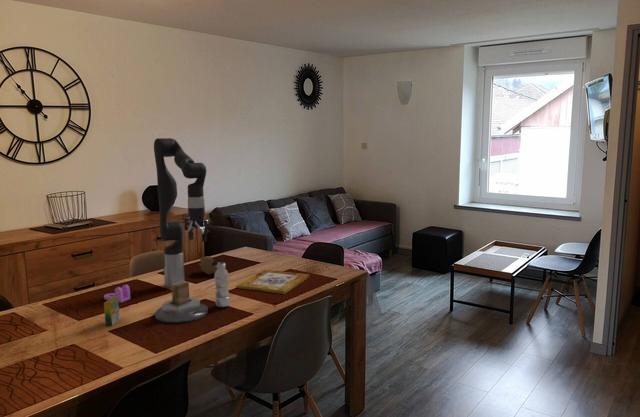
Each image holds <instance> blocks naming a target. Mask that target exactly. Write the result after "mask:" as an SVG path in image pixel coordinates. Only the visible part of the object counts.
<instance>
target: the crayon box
mask: <svg viewBox="0 0 640 417" xmlns="http://www.w3.org/2000/svg"><path fill="white" fill-rule="evenodd" d="M114 297H116V298H114ZM103 310H104V321H105V323H104V324H105V326H106V327H113V326H114V325H115V324H116V323H118V322H119V321H120V320H121V318H120V315H121V314H120V306H119V302H118V293H117V294H116V295H115V296H113V297H112V298H110V299H109V300H106V301H105V302H103Z"/></svg>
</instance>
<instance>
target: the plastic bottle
mask: <svg viewBox="0 0 640 417" xmlns="http://www.w3.org/2000/svg"><path fill="white" fill-rule="evenodd" d="M216 265H217V268H218V269H217V271H216V272H215V274H213V276H214V277H213V278H214V283H215V290H216V291H215V302H214V303H215V305H216V307H218V308H226V307H228V306H229V305H230V302H231V298H230V294H229V276H230V275H229V274H230V273H229V272H228V270H227V268H226V262H224V261H223V262H222V261H221V262H218V263H217V264H216Z"/></svg>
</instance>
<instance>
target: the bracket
mask: <svg viewBox="0 0 640 417" xmlns="http://www.w3.org/2000/svg"><path fill="white" fill-rule="evenodd" d="M130 289H131V288H130V285H128V284H123V285H122V287H121V286H118V287H116V288H115V289H114V293H113V292H111V293H105V294H104V296H103V299H104V300H106V301H108V300H109V299H110V298H112V297H113V296H115V295H116V294H117V293H118V303H123V302H126V301H128V300H131V290H130ZM114 298H116V297H114Z"/></svg>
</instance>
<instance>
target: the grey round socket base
mask: <svg viewBox="0 0 640 417" xmlns="http://www.w3.org/2000/svg"><path fill="white" fill-rule="evenodd" d="M189 300H190V302H187V303H184V304H182V305H175V304H173V301H172V300H169V301H166V302H163V303H162V306H161V307H159V308H158V309H157V310H155V312H154V315H155V318H154V319H156V320H157V321H158V322H161V323H165V324H185V323H191V322H194V321H198V320H200V319H202V318H204V317H206V315H208V312H209V309H208V306H207V305H206V304H204V303H202V302H201V299H199V298H194V297H191V296H189Z"/></svg>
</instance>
